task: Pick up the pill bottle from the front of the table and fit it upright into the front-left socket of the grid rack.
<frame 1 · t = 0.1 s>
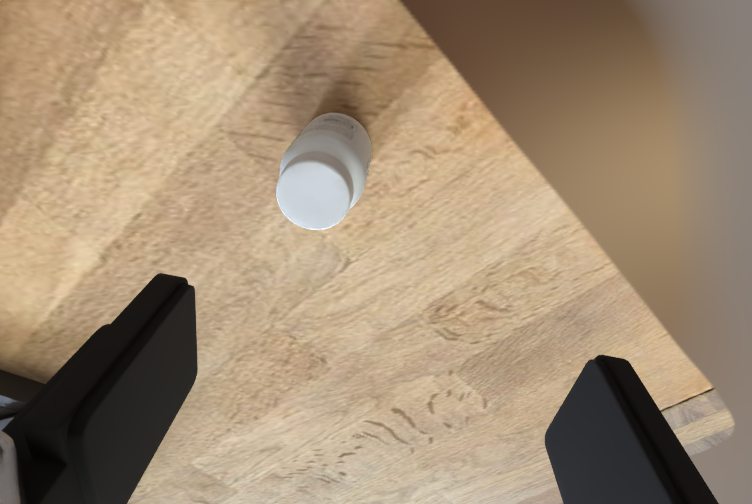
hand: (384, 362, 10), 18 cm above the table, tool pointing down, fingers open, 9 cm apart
pill bottle: (336, 147, 26), on the table
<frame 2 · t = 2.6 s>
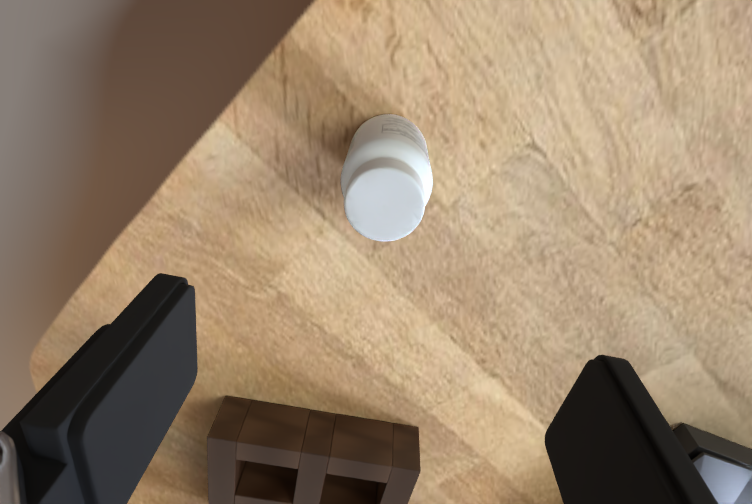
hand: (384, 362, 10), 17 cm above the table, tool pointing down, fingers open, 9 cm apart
grid rack: (312, 469, 40), on the table
pill bottle: (388, 150, 25), on the table
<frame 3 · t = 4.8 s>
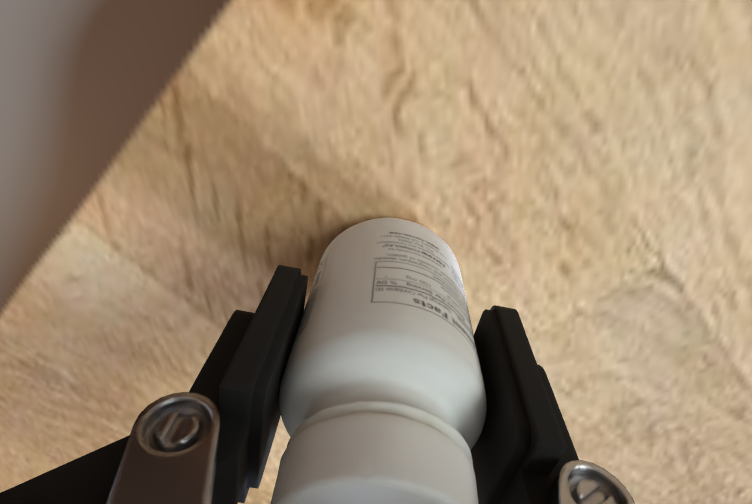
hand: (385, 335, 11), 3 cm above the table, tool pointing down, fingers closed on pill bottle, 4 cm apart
pill bottle: (389, 274, 14), on the table, touching gripper
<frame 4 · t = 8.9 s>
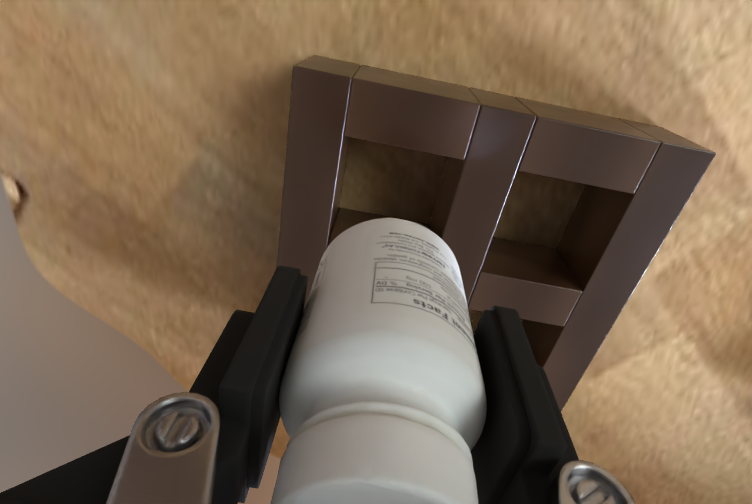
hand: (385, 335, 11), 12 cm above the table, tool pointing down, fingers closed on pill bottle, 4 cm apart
grid rack: (443, 245, 24), on the table
pill bottle: (389, 274, 14), point 9 cm above the table, touching gripper
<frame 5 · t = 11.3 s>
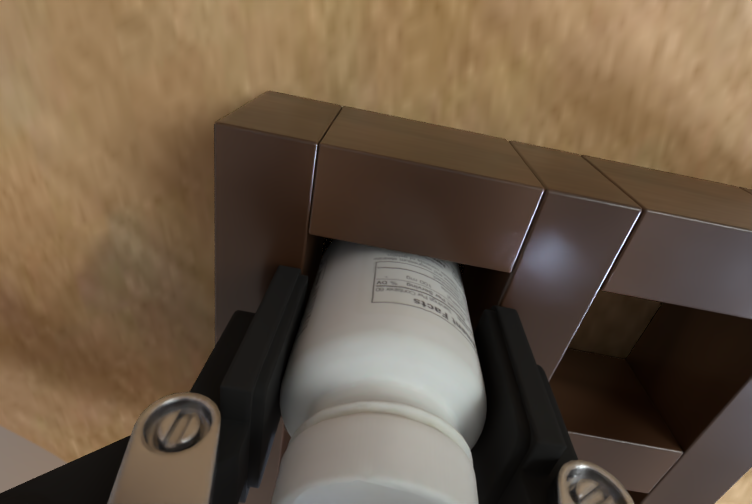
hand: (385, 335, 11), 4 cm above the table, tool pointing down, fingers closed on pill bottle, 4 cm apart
grid rack: (464, 351, 17), on the table
pill bottle: (389, 274, 14), point 1 cm above the table, touching gripper
when the fingers open (4 cm above the table, at t = 13.3 s): pill bottle drops 2 cm, resting in grid rack.
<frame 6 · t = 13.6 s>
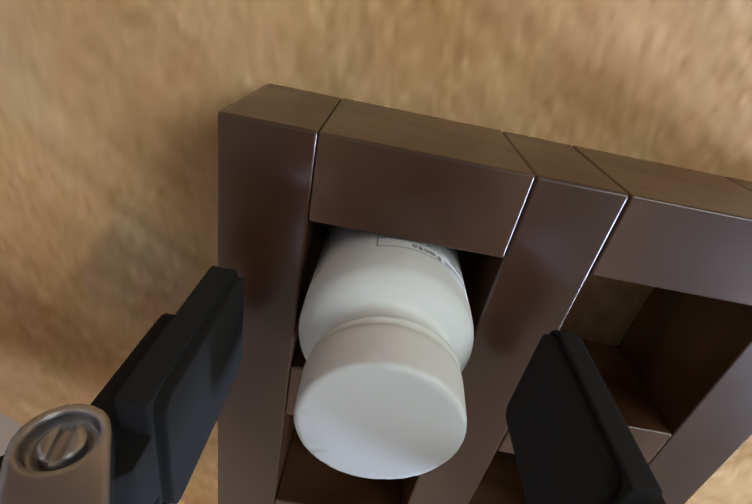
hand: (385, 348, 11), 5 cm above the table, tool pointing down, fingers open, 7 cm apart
grid rack: (460, 339, 17), on the table
pill bottle: (390, 238, 15), resting in grid rack
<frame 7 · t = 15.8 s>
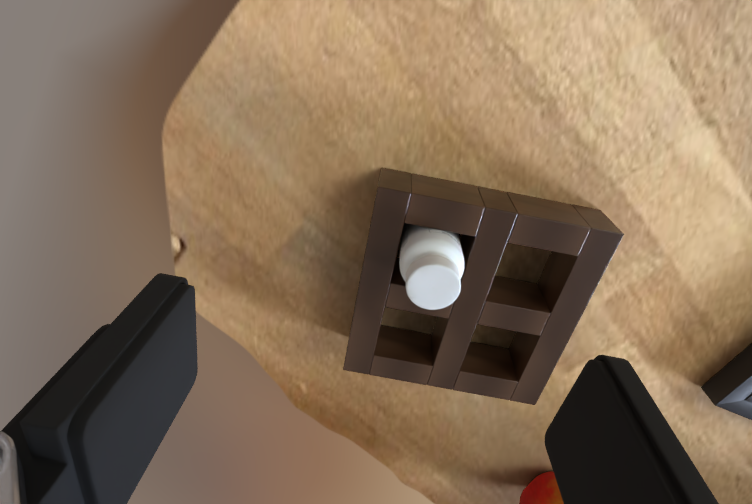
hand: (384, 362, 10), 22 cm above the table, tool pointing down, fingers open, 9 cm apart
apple: (546, 479, 47), on the table
grid rack: (461, 281, 35), on the table
pill bottle: (428, 231, 34), resting in grid rack
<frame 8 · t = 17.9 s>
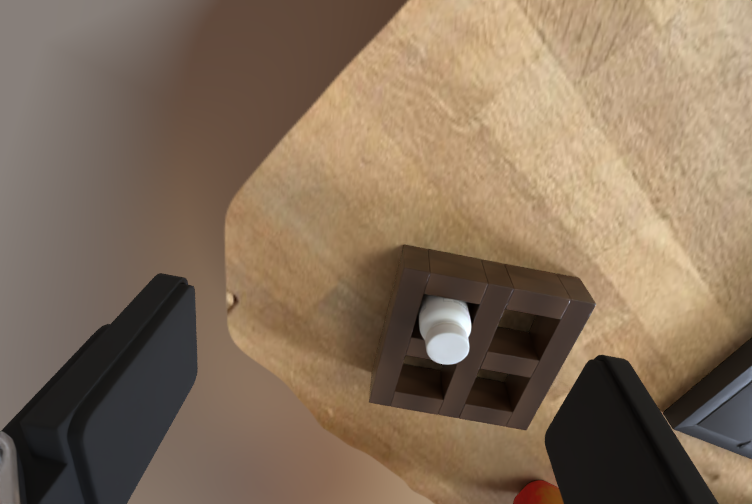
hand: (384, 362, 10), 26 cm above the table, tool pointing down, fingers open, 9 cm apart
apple: (535, 486, 55), on the table
grid rack: (466, 329, 43), on the table
pill bottle: (440, 292, 41), resting in grid rack
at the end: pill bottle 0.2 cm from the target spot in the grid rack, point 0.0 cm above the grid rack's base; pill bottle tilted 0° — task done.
